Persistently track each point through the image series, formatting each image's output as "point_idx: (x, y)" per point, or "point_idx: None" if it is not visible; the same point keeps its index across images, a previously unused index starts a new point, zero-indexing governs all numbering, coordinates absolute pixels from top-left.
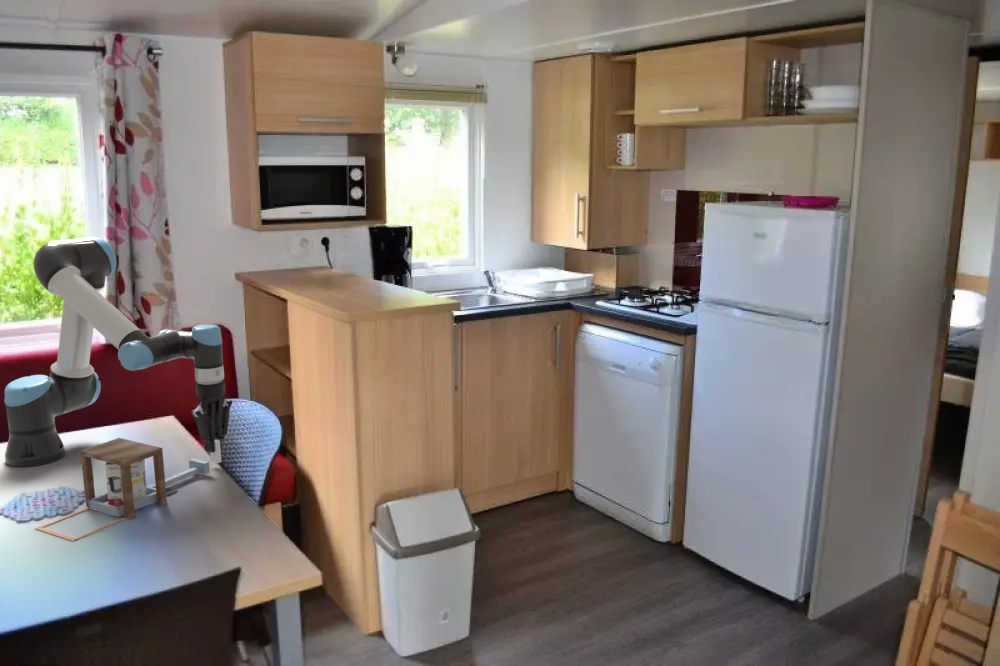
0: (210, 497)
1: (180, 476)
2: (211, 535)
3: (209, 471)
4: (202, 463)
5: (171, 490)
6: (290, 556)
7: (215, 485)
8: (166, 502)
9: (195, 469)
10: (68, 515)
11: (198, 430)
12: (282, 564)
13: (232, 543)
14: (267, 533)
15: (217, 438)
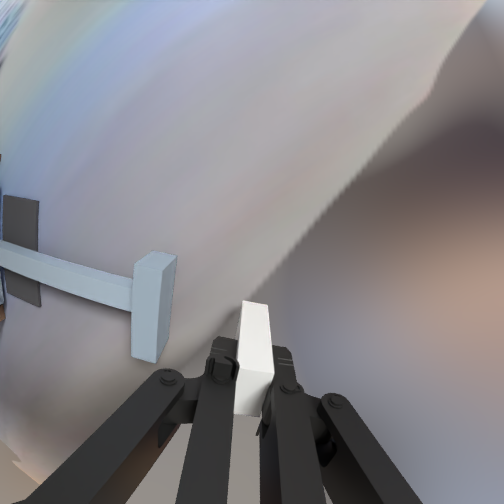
0: (69, 395)
1: (62, 288)
2: (16, 426)
3: (166, 340)
4: (131, 346)
5: (33, 289)
6: None
7: (119, 382)
8: (3, 318)
9: (123, 309)
10: None
11: (109, 419)
12: None
13: (26, 448)
14: None
15: (263, 409)
